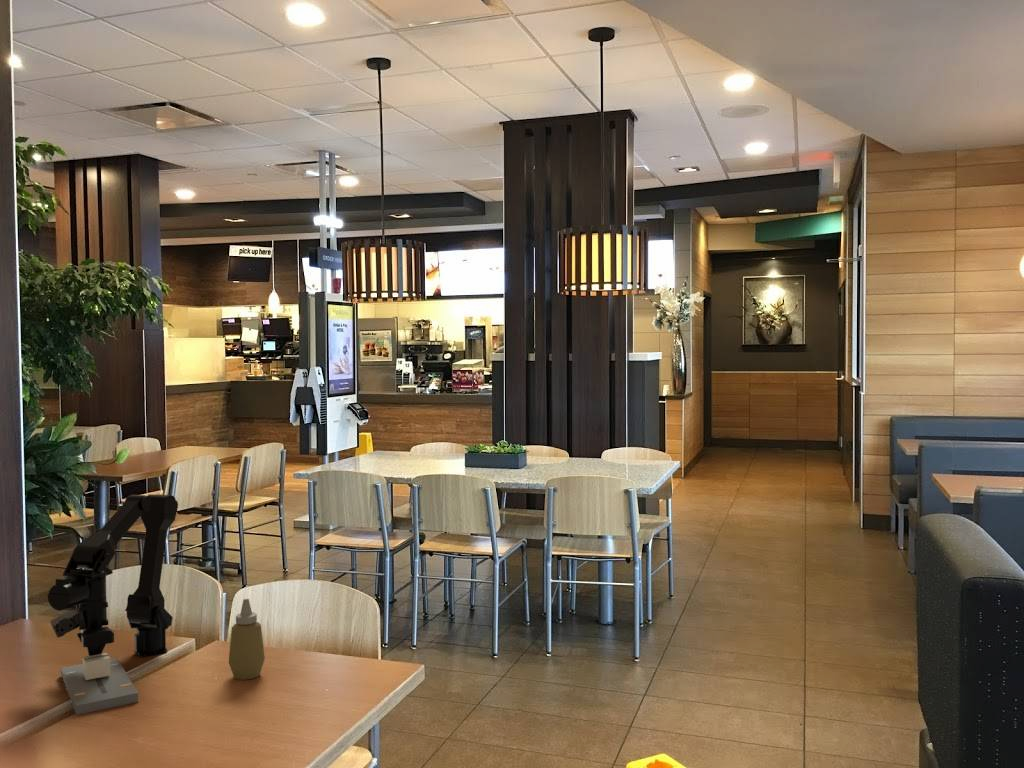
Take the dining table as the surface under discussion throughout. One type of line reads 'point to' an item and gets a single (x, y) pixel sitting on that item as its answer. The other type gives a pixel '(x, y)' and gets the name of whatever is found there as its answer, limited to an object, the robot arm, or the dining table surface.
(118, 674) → the plate
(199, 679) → the dining table surface
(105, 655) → the cap
